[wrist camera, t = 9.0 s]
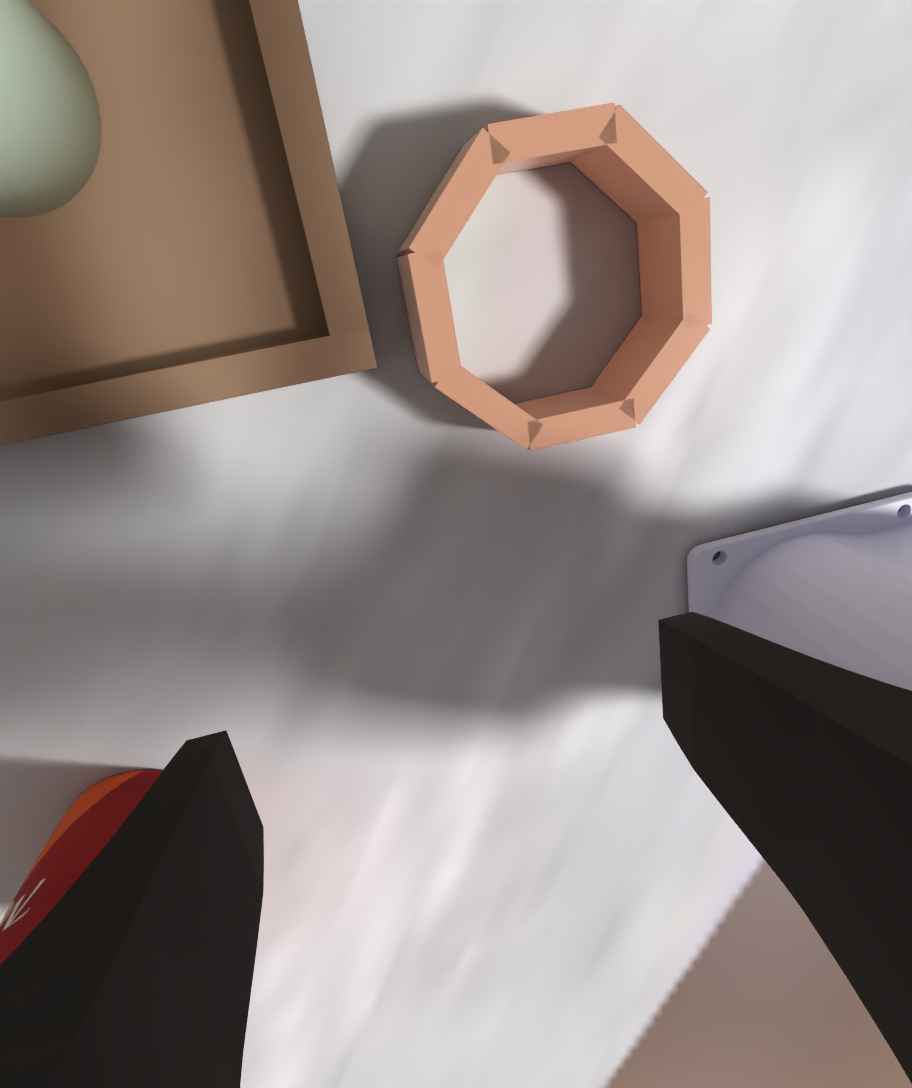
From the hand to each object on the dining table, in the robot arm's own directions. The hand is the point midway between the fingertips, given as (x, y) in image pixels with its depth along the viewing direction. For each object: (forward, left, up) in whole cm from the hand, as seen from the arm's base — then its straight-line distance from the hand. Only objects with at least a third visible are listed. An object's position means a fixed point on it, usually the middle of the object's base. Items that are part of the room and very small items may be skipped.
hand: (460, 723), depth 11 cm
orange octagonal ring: (-5, -6, -10) cm, 13 cm away
